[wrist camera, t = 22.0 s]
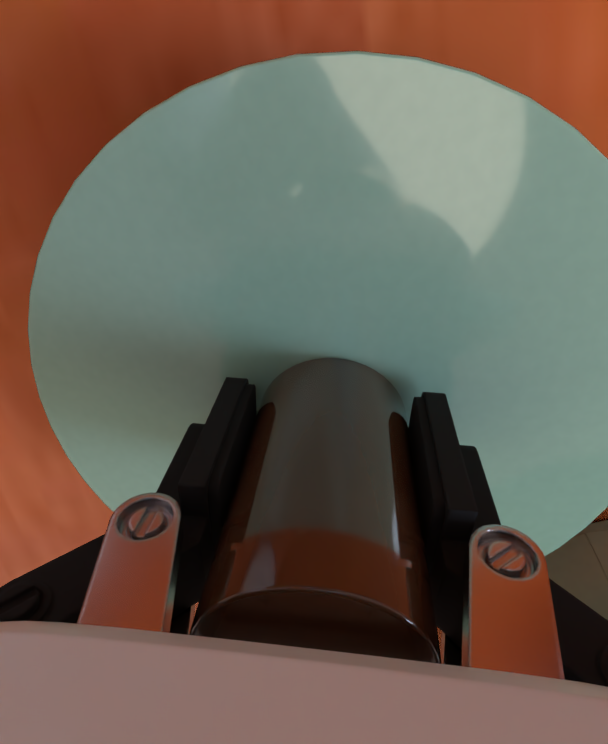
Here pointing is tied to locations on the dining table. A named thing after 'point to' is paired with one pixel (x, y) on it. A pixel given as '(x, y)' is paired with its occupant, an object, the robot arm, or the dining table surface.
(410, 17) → the dining table surface
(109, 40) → the dining table surface
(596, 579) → the pot
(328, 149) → the lid
